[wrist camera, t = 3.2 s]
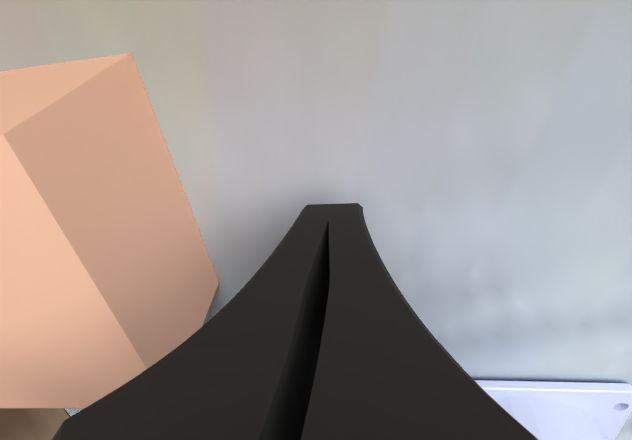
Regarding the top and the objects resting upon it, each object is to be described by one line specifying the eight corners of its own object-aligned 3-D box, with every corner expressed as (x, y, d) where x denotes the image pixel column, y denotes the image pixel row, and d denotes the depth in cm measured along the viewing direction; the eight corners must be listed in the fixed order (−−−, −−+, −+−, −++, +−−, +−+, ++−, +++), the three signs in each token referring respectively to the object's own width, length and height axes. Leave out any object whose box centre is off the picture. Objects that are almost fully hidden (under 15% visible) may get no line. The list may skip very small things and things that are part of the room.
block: (220, 278, 16) (170, 408, 12) (72, 286, 17) (-22, 408, 13) (134, 51, 11) (2, 134, 7) (-64, 79, 12) (-280, 166, 8)
